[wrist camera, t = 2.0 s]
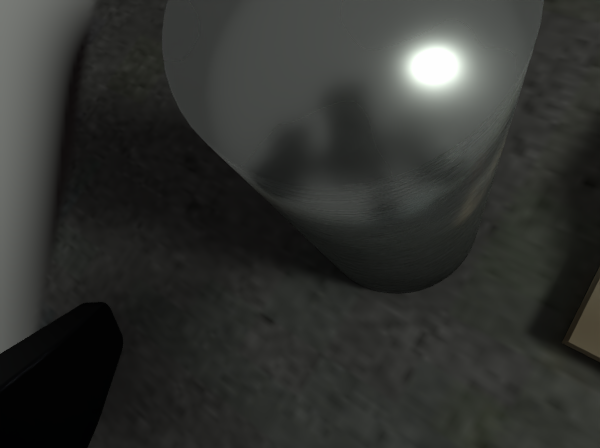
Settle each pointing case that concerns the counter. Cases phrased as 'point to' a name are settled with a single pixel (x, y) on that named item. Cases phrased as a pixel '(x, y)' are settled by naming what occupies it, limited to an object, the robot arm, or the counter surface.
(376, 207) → the steel peg
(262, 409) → the counter surface
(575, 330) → the socket plate
